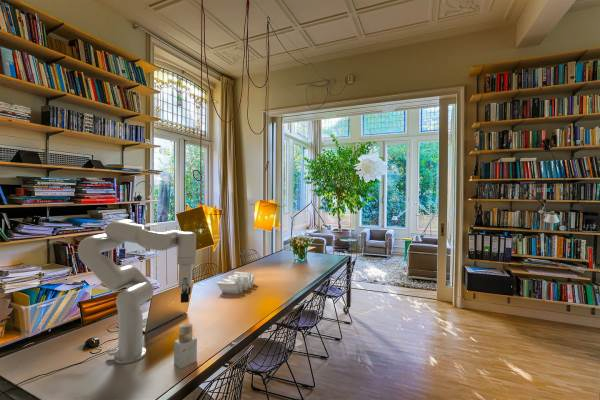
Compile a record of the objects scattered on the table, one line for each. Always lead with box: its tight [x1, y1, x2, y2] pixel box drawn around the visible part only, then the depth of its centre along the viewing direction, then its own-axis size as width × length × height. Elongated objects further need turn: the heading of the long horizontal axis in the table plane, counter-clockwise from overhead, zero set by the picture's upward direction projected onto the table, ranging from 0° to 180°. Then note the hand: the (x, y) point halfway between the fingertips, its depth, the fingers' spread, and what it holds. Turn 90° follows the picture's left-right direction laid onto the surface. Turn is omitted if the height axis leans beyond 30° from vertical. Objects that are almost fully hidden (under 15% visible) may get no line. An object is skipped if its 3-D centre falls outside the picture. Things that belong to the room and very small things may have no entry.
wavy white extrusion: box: [216, 271, 255, 295], centre depth 225 cm, size 35×16×11 cm, turn 155°
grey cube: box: [178, 322, 193, 343], centre depth 127 cm, size 6×6×6 cm
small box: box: [173, 335, 198, 370], centre depth 127 cm, size 8×6×10 cm
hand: (185, 298), depth 128 cm, fingers open, 9 cm apart
